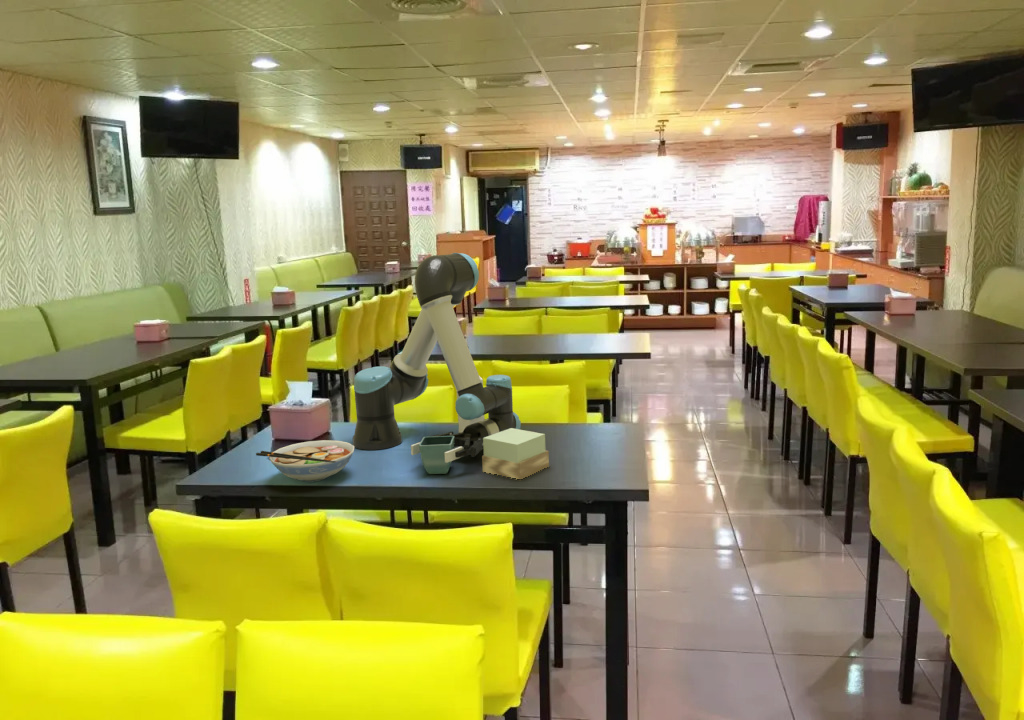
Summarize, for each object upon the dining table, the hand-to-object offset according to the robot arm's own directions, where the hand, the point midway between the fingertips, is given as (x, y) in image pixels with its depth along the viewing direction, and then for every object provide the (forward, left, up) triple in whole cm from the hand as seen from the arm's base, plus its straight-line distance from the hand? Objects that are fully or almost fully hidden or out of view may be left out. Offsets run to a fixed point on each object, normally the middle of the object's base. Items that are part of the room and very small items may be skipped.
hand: (428, 453), depth 210 cm
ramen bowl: (-26, -18, -6) cm, 32 cm away
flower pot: (0, +4, -6) cm, 7 cm away
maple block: (+17, +16, -6) cm, 25 cm away
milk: (-14, +34, -6) cm, 37 cm away
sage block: (+17, +16, -1) cm, 23 cm away
